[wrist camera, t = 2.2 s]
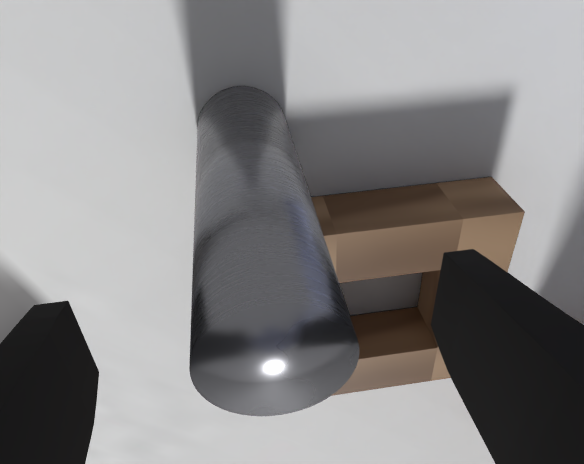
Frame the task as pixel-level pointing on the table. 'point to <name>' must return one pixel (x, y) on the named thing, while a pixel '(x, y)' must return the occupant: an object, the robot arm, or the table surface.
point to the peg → (261, 268)
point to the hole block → (411, 263)
